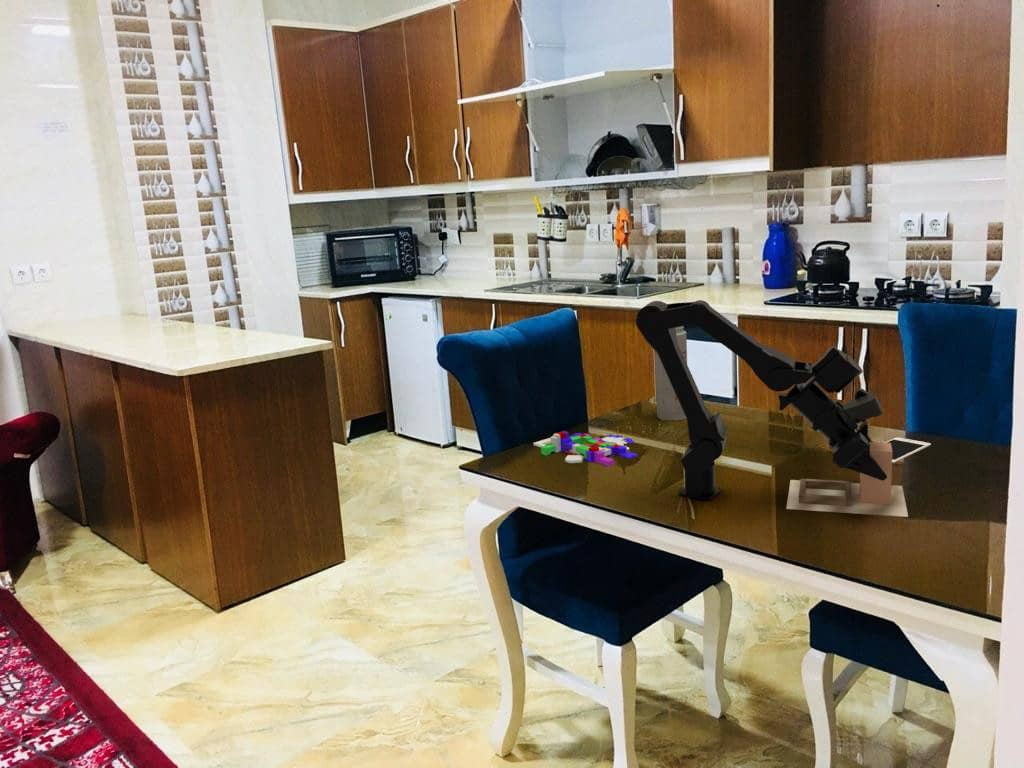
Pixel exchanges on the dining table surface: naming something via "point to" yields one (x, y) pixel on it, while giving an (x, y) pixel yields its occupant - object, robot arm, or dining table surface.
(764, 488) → the dining table surface
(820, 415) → the robot arm
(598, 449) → the building block set
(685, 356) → the thermos bottle
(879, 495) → the pillar
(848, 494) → the board
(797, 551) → the dining table surface
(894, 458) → the cell phone
